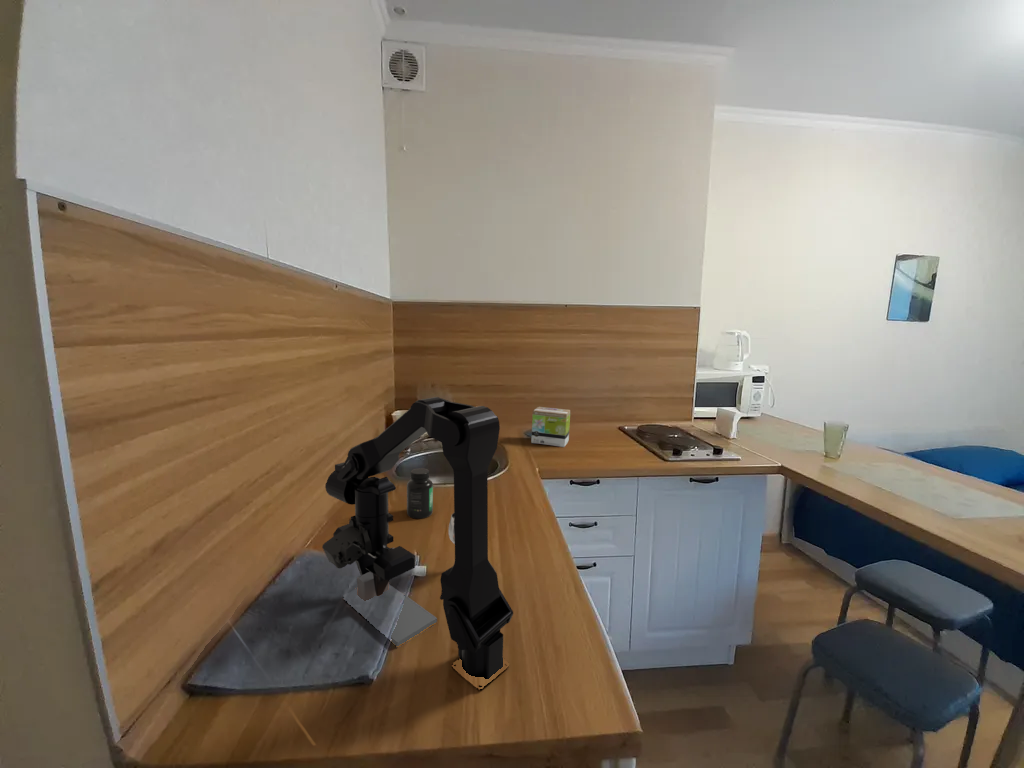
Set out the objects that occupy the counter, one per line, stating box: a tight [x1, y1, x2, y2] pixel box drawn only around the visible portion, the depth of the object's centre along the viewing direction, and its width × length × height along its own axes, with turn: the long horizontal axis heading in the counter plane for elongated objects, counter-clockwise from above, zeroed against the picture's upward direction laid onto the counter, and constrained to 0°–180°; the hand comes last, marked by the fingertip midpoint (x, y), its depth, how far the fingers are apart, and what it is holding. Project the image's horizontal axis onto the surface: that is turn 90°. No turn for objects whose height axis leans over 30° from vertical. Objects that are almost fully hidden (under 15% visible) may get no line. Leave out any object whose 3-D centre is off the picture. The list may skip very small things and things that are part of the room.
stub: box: [356, 572, 390, 601], centre depth 82 cm, size 8×8×5 cm
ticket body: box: [391, 595, 438, 646], centre depth 76 cm, size 9×8×1 cm
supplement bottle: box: [406, 467, 434, 520], centre depth 118 cm, size 7×7×12 cm
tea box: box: [530, 406, 571, 448], centre depth 191 cm, size 15×10×15 cm
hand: (373, 590), depth 82 cm, fingers open, 4 cm apart
